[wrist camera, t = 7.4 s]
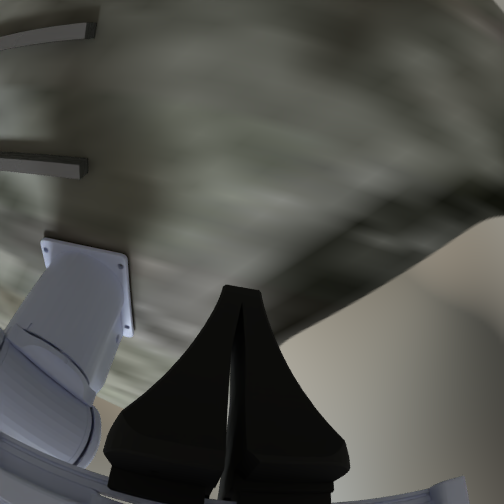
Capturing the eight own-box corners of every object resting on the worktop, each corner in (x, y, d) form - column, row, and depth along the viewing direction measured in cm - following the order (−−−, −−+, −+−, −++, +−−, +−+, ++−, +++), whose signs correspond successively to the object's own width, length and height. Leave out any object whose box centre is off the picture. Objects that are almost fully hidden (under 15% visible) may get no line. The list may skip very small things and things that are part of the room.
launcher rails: (88, 172, 19) (79, 179, 18) (-30, 161, 18) (-39, 167, 17) (96, 23, 13) (86, 22, 12) (-34, 47, 12) (-44, 49, 11)
